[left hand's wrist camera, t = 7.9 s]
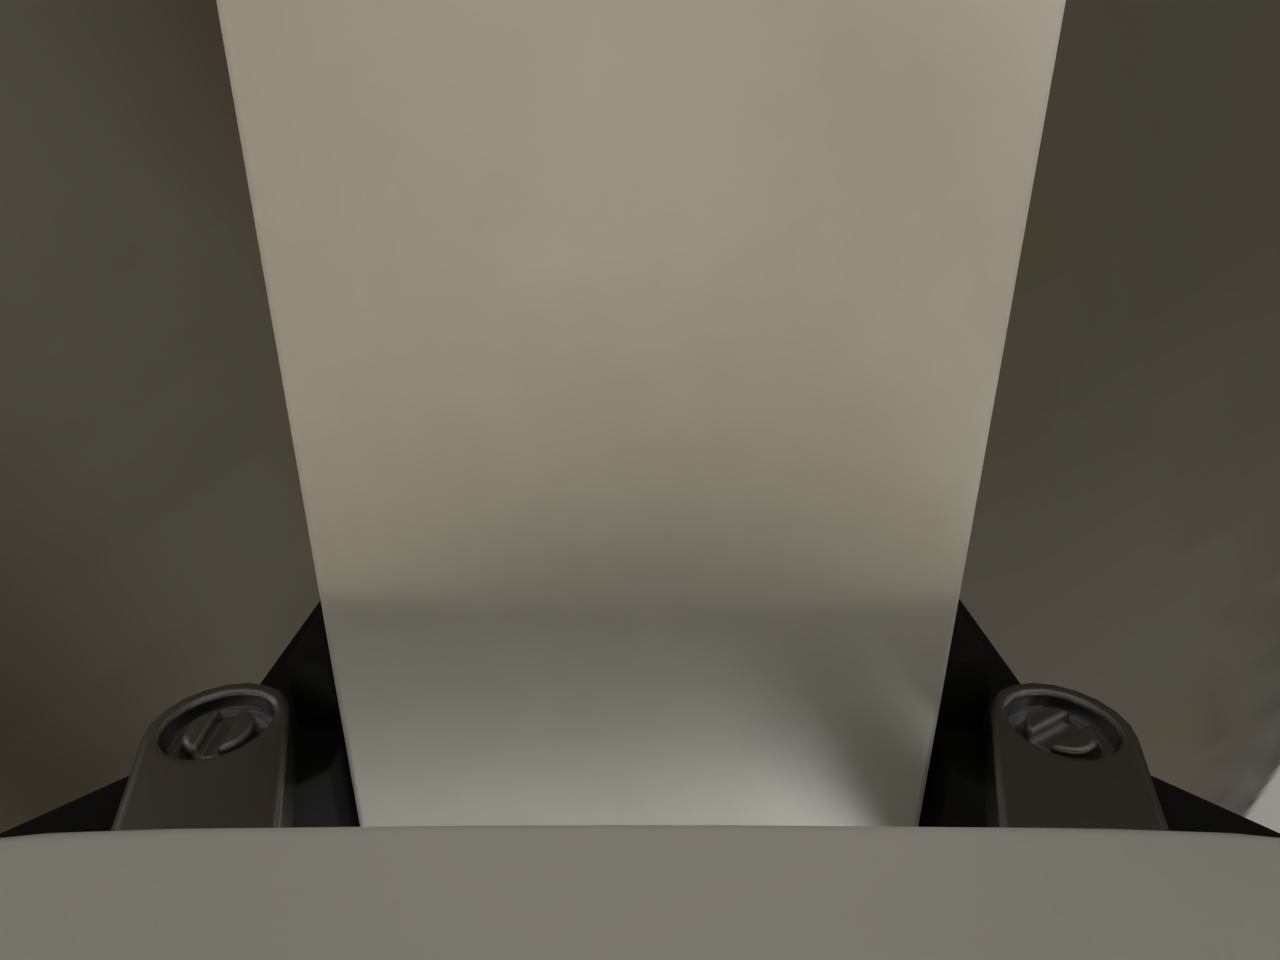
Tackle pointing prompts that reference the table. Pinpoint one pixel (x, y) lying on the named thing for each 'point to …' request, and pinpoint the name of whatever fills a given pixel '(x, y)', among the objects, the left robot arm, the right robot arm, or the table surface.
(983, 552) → the table surface
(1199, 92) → the table surface
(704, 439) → the post
